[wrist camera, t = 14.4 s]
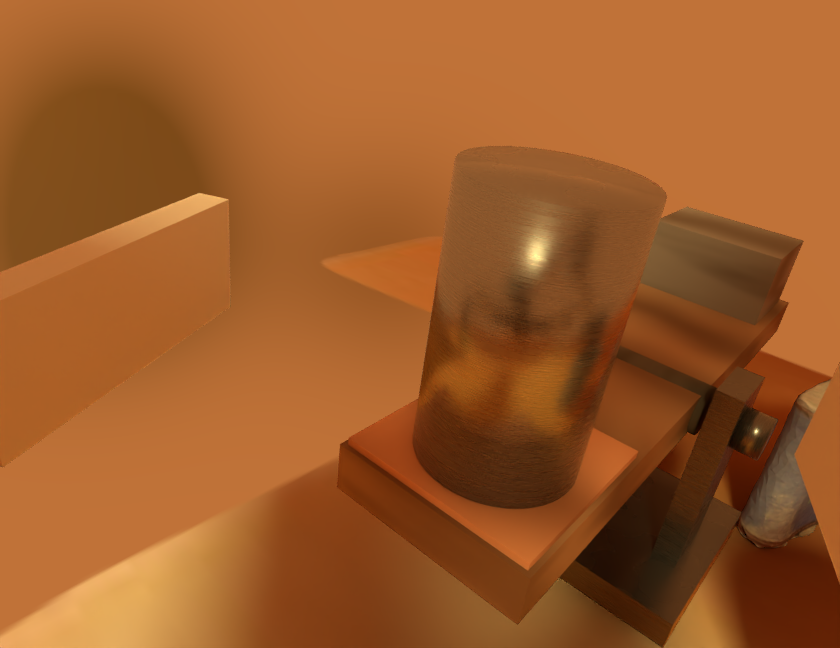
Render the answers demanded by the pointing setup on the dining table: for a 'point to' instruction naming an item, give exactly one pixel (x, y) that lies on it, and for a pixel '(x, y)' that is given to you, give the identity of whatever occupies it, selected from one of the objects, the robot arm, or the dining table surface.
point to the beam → (616, 421)
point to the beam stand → (674, 521)
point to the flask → (783, 483)
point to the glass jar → (528, 318)
